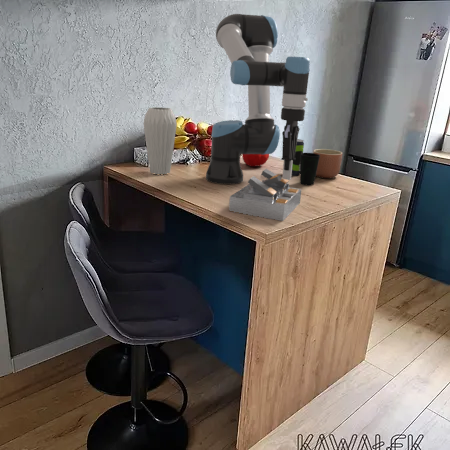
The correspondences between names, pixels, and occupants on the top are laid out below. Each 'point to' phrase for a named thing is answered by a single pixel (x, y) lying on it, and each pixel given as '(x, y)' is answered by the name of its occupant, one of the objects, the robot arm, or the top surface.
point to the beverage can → (297, 158)
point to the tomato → (255, 159)
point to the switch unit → (266, 202)
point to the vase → (160, 138)
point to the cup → (308, 168)
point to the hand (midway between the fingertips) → (286, 178)
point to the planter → (328, 163)
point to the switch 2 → (262, 187)
